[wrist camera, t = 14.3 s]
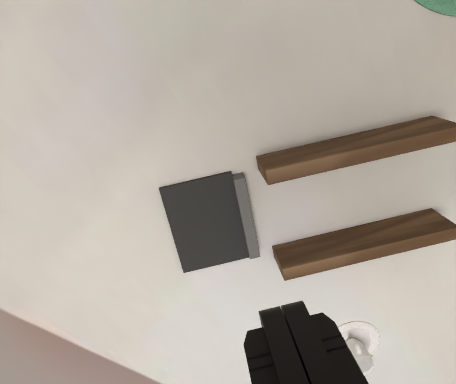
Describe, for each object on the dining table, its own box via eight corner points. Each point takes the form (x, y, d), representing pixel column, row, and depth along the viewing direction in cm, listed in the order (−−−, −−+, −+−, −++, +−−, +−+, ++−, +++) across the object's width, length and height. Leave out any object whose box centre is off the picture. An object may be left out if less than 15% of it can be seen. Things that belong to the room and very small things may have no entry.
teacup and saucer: (370, 366, 55) (384, 390, 51) (318, 369, 54) (328, 393, 50) (382, 318, 52) (398, 339, 48) (327, 320, 51) (339, 342, 47)
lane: (256, 156, 41) (265, 170, 36) (432, 115, 41) (463, 125, 37) (274, 256, 46) (284, 280, 41) (431, 219, 46) (458, 238, 42)
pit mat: (159, 187, 41) (158, 193, 39) (241, 168, 41) (243, 173, 40) (183, 271, 45) (183, 278, 44) (258, 253, 45) (260, 260, 44)
